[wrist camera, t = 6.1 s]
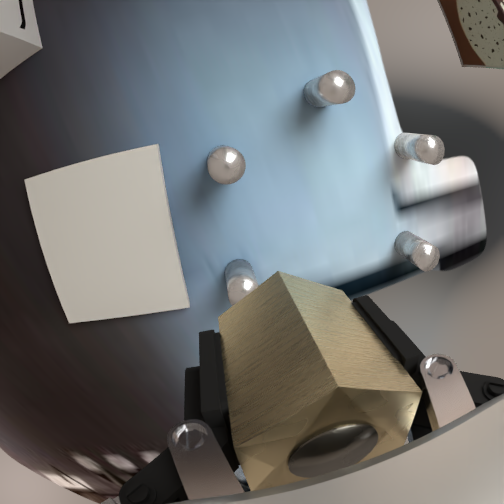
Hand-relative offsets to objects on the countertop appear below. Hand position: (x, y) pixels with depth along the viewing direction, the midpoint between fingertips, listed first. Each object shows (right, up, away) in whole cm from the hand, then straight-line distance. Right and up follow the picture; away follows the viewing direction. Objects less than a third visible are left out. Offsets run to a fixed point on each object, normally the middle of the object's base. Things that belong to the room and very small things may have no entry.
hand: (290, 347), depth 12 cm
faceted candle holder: (0, 0, +1) cm, 1 cm away
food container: (+25, +31, +13) cm, 42 cm away
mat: (-16, +5, +17) cm, 23 cm away
